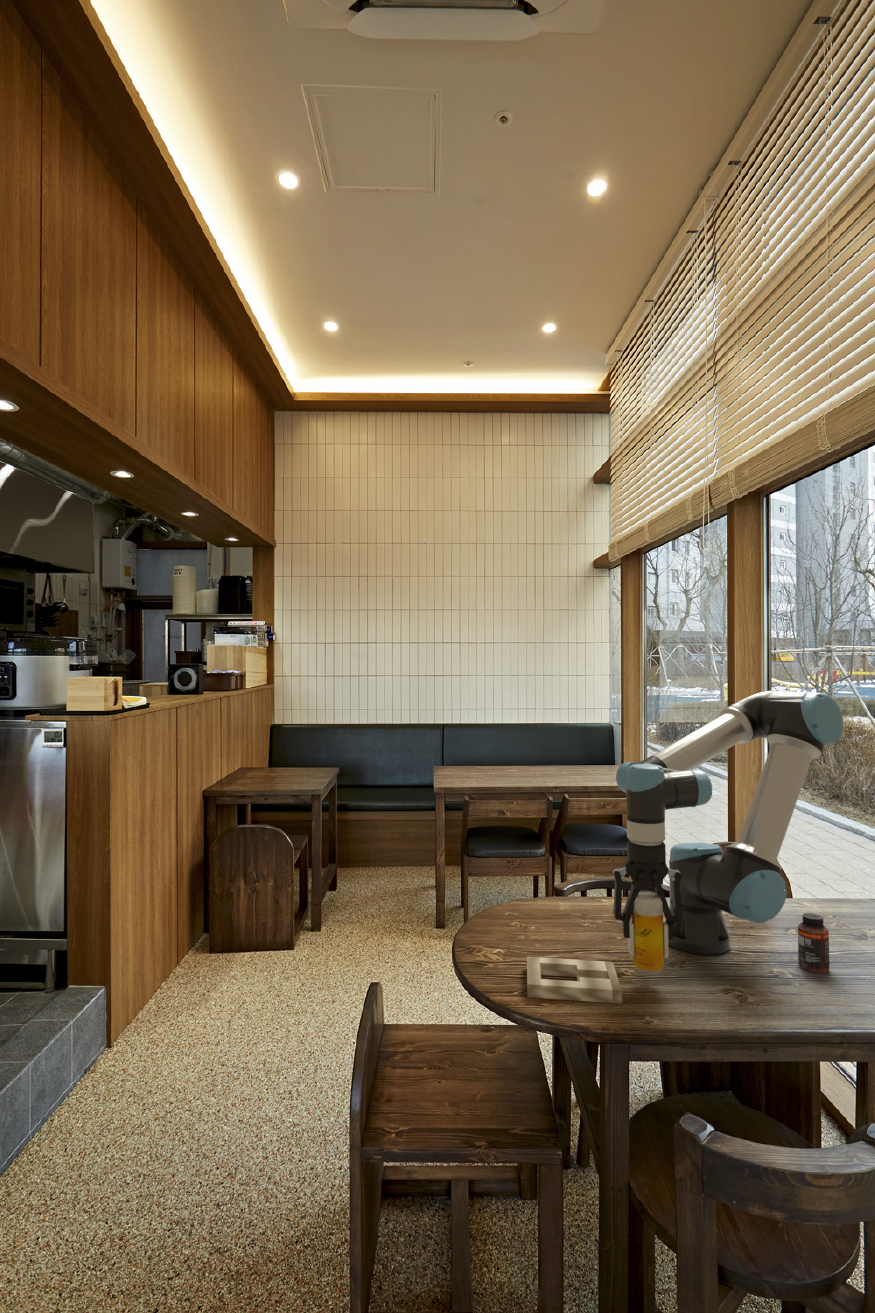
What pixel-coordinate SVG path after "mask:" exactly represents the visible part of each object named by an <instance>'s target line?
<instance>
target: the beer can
mask: <svg viewBox="0 0 875 1313" xmlns="http://www.w3.org/2000/svg"><path fill="white" fill-rule="evenodd" d="M631 919H632V922H633V924H634V956H632V964H633V966H634V967H635V969H636V970H637V971H639V972H640V973H644V974H649V975H655V974H659V973H661V972H662V970H663V969H664V968H665V957H664V937H663V920H664V913H663V903H662V901H661V899H660V897H658V896H657V893H656V891H653V890H652V891H651V890H640V892H639V893H638V897H637V896H636V899H635V901H634V910H633V913H632V916H631Z"/></svg>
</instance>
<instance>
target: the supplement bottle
mask: <svg viewBox="0 0 875 1313" xmlns="http://www.w3.org/2000/svg"><path fill="white" fill-rule="evenodd" d="M797 953H798V954H797V955H798V957H797V958H798V966H799V967H800V968H801V969H803V970H805V971H808V972H811V973H815V974H825V973H828V972H829V970H830V931H829V929H828V928H827V927H826V926H825V925H824V917H823V916H822V915H820V914H819V913H814V912H804V913H803V914H802V922H801V923H799V924H798V925H797Z"/></svg>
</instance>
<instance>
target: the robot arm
mask: <svg viewBox="0 0 875 1313" xmlns="http://www.w3.org/2000/svg"><path fill="white" fill-rule="evenodd" d="M843 728H844V719H843V713H842V712H841V708H840V705H839V704H838V703H837V701H836V700H835V699H834V697H832V696H831V695H828V694H826V693H822V692H815V691H810V690H807V691H783V690H766V691H761V692H758V693H755V694H752V695H749V696H747V697H745V698H742V699H741V700H738V701H736V702H734V703H732V704H731V705H729V706H727V707H725V708H724V709H722V710H721V711H720V712H719V715H718V717H716V718H714V719H713V720H711V721H709V722H708V723H706V724H704V725H702V726H701V727H699V728H698V729H695V730H694V731H692V732H689V733H688V734H687V735H685V736H683V737H682V738H680V739H678V740H676V741H675V742H672V743H671V744H670V745H667V746H666V747H664V748H663V749H660V750H659V751H657V752H656V753H653V754H652V755H650V756H649V757H646V758H645V759H643V760H641V761H638V762H637V761H634V760H633V761H625V762H624V763H622V764H620V766H619V767H618V769H616V774H615V781H616V784H617V786H618V788H619V790H620V791H622V792H623V793H625V799H626V800H625V802H626V838H627V839H628V840H627V842H626V846H627V848H626V852H627V854H626V856H627V861H626V863H625V866H624V867H621V868H617V867H613V869H612V875H613V878H614V892H613V907H612V908H613V912H612V913H613V916H614V919H615V920H617V921H621V922H622V934H623V936H624V939H627V944H628V945H627V950H628V953H629V955H630V957H633V956H634V924H633V922H632V913H633V910H634V901H635V899H636V896H637V897H638V893H639V892H640V891H641V888H651V889H654V890H655V892H656V893H657V896H658V897H660V899H661V901H662V903H663V917H664V919H663V937H664V959H668V958H669V955H670V954H669V950H670V949H669V946H670V947H672V948H674V949H678V950H680V951H682V952H687V953H691V954H698V955H720V954H723V953H726V952H728V951H729V950H730V948H731V938H730V932H729V930H728V927H727V924H726V921H725V918H724V915H723V912H724V913H727V914H730V915H731V916H734V917H736V918H738V919H740V920H742V921H748V922H750V923H754V924H763V923H766V922H768V921H770V920H773V919H774V918H775V917H776V916H777V915H778V914H779V913H780V912H781V911H782V908H783V907H784V905H785V903H786V900H787V893H788V892H787V890H786V888H787V884H786V882H785V879H784V878H783V876H782V875H781V872H782V870H783V867H782V866H781V864H780V862H779V858H778V857H779V854H780V851H781V849H782V846H783V842H784V840H785V837H786V834H787V831H788V829H789V826H790V822H791V820H792V816H793V813H794V811H795V808H796V805H797V802H798V799H799V797H800V794H801V792H802V788H803V784H804V782H805V778H806V776H807V773H808V770H809V767H810V764H811V762H812V761H813V760H814V759H817V758H820V757H821V756H822V753H823V751H824V749H825V748H824V747H825V746H830V745H833V744H835V743H836V742H838V741H839V740H840V738H841V736H842V733H843V730H844V729H843ZM756 739H766V740H767V743H768V744H769V746H770V748H769V752H768V753H767V755H766V759H765V761H764V765H763V768H762V771H761V773H760V776H759V779H758V782H757V784H756V787H755V790H754V793H753V796H752V799H751V801H750V804H749V806H748V809H747V813H746V814H745V817H744V821H743V823H742V826H741V830H740V831H739V834H738V836H737V837H738V838H737V840H736V841H735V842H734V843H731V844H728V845H727V846H726V847H725V851H724V852H723V848H722V847H721V845H719V844H715V843H707V842H683V843H678V844H674V845H673V846H672V847H671V848H670V851H669V852H670V853H669V860H668V863H669V864H668V865H669V866H667V859H666V856H667V854H666V853H667V852H666V843H664V841H666V823H665V822H666V821H665V820H666V810H674V809H675V810H676V809H683V808H684V809H685V808H696V807H699V806H703V805H706V804H707V803H709V802H710V800H711V798H712V796H713V784H712V782H711V779H710V777H709V775H707V773H706V772H704V771H702V770H699V769H697V768H698V767H700V766H701V765H703V764H705V763H707V762H709V761H710V760H712V759H714V758H715V757H717V756H719V755H721V754H722V753H724V752H725V751H727V750H729V749H730V748H732V747H733V746H735V745H737V744H739V745H740V744H741V745H742V744H747V743H748V742H750V741H752V740H756ZM723 853H724V854H723ZM626 874H627V875H628V876H629V878H630V879H631V880H632V881H631V884H630V889H629V892H628V895H627V898H626V901H625V905H624V908H623V910H622V903H623V902H622V901H623V880H625V875H626ZM667 876H668V879H669V903H668V901H667V898H666V894H665V892H664V889H663V886H662V882H663V881H664V879H665V878H666V877H667Z"/></svg>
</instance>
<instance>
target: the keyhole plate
mask: <svg viewBox="0 0 875 1313" xmlns="http://www.w3.org/2000/svg"><path fill="white" fill-rule="evenodd" d="M613 962H614V961H606V960H605V961H603V960H602V961H601V960H590V959H589V960H587V959H571V958H557V957H556V958H555V957H554V958H553V957H542V956H541V957H538V956H526V983H527V984H526V988H527V990H526V991H527V998H534V999H535V998H536V999H549V1000H563V1001H564V1000H565V1001H577V1002H579V1001H580V1002H589V1003H590V1002H593V1003H603V1004H604V1003H607V1004H621V1005H622V1004H623V1000H622V998H623V997H622V996H623V994H622V993H623V992H622V988H621V987H622V986H621V985H620V981H619V978H618V975H617V971H616V969H615V965H614V963H613ZM542 976H555V977H568V978H569V977H570V978H576V980H563V979H548V978H542Z"/></svg>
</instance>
